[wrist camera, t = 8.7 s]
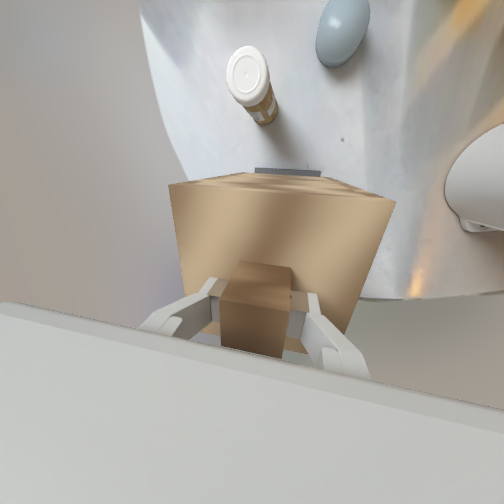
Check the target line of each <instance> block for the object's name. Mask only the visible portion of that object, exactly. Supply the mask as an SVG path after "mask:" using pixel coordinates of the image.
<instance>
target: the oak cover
mask: <svg viewBox="0 0 504 504" xmlns="http://www.w3.org/2000/svg"><path fill="white" fill-rule="evenodd" d="M168 186H169V193H170V199H171V206H172V212H173V219H174V225H175V232H176V238H177V245H178V251H179V258H180V263H181V271H182V277H183V283H184V290H185V296H186V297H187V296H190V295H192V294H194V293H198V292H199V291H200V289H201V288H202V287H203V285H204V284H205V283H206V281H207V280H208V279H209V277H215V278H221V279H227V280H229V281H228V283H227V285H226V287H225V289H224V291H223V292H222V294H221V296H220V298H219V312H220V323H218V322H212V321H211V323H210V324H209V325H207V326H206V327H205V328H203V329H202V330H201V331H200V332H204V333H209V334H214V335H219V336H221V346H225V347H229V348H234V349H239V350H243V351H247V352H252V353H257V354H262V355H266V356H270V357H275V358H279V359H281V358H282V352H283V349H285V350H290V351H295V352H300V353H304V354H308V352H307V351H306V349H305V347H304V346H303V344H302V342H301V341H300V339H298V338H293V337H289V336H286V331H287V326H288V321H289V315H290V290H294V291H301V292H310V293H316V294H317V296H318V301H319V306H320V311H321V315H324V316H325V317H326V318H327V319H328V320H329V321H330V322H331V323H332V324H333V325H334V326H335V327H336V328H337V329H338V330H339V331H340V332H341V333H342V334H343V335H344V334H345V331H346V328H347V326H348V323H349V321H350V318H351V316H352V313H353V311H354V308H355V305H356V303H357V301H358V298H359V296H360V293H361V291H362V288H363V285H364V283H365V280H366V278H367V275H368V273H369V270H370V268H371V265H372V263H373V260H374V258H375V255H376V252H377V250H378V247H379V245H380V242H381V240H382V237H383V235H384V232H385V230H386V227H387V225H388V222H389V219H390V217H391V214H392V212H393V209H394V207H395V204H396V202H395V201H392V200H390V199H387V198H384V197H381V196H379V195H376V194H373V193H370V192H368V191H365V190H362V189H359V188H357V187H354V186H351V185H348V184H346V183H343V182H340V181H338V180H335V179H332V178H327V177H310V176H293V175H276V174H259V173H236V174H230V175H224V176H218V177H212V178H206V179H200V180H194V181H189V182H183V183H177V184H171V185H168Z"/></svg>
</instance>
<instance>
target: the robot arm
mask: <svg viewBox="0 0 504 504" xmlns="http://www.w3.org/2000/svg"><path fill="white" fill-rule="evenodd" d="M445 197H446V200H447V203H448V204H449V206H450V207H451V209H452V210H453V211H455V212H456V213H457V214H458V216H459V217H460V222H461V226H462V228H463V229H464V230H465V231H469V232H485V231H501V230H502V231H504V123H503V124H501V125H499V126H497V127H495V128H493V129H491V130H490V131H488V132H486V133H485V134H483V135H482V136H480V137H479V138H478V139H476V140H475V141H474V142H473V143H472V144H471V145H469V146H468V147H467V148H466V149H465V150H464V151H463V152H462V154H461V155H460V156H459V157H458V159H457V160H456V161H455V163H454V164H453V166H452V168H451V170H450V172H449V174H448V177H447V180H446V184H445ZM480 225H481V226H480ZM228 281H229V280H227V279H221V278H215V277H209V279H208V280H207V281H206V283H205V284H204V285H203V287H202V288H201V289H200V291H199V292H198V293H194V294H192V295H190V296H187V297H185V298H183V299H181V300H179V301H176V302H174V303H172V304H170V305H168V306H165V307H163V308H161V309H159V310H157V311H154V312H153V313H152V314H151V315H150V317H149V318H148V319H147V320H146V321H145V322H144V323H143V324H142V325H141V326H140V327H139V328H138V329H136V328H132V327H127V326H123V325H118V324H114V323H109V322H104V321H100V320H96V319H91V318H86V317H82V316H77V315H73V314H68V313H63V312H59V311H55V310H50V309H46V308H41V307H36V306H32V305H28V304H24V303H19V302H2V303H0V504H504V410H503V409H498V408H494V407H489V406H485V405H480V404H476V403H471V402H467V401H462V400H458V399H452V398H449V397H444V396H440V395H435V394H431V393H426V392H421V391H417V390H412V389H408V388H403V387H399V386H394V385H389V384H385V383H381V382H376V381H372V379H371V377H370V374H369V372H368V369H367V366H366V363H365V360H364V358H363V355H362V353H361V352H360V351H359V350H358V349H357V348H356V347H355V346H354V345H353V344H352V343H351V342H350V341H349V340H348V339H347V338H346V337H345V336H344V335H343V334H342V333H341V332H340V331H339V330H338V329H337V328H336V327H335V326H334V325H333V324H332V323H331V322H330V321H329V320H328V319H327V318H326V317H325V316H324V315H321V311H320V306H319V301H318V296H317V294H316V293H310V292H301V291H294V290H290V315H289V321H288V326H287V331H286V336H289V337H293V338H298V339H300V341H301V342H302V344H303V346H304V347H305V349H306V351H307V352H308V354H309V356H310V357H311V359H312V361H313V362H314V364H315V368H313V367H308V366H303V365H299V364H295V363H290V362H285V361H281V360H276V359H272V358H268V357H263V356H258V355H254V354H250V353H245V352H241V351H236V350H232V349H227V348H222V347H218V346H213V345H209V344H204V343H199V342H195V341H190V340H189V339H190V338H192V337H193V336H194V335H196V334H197V333H198V332H200V331H201V330H202V329H203V328H205V327H206V326H207V325H209V324H210V323H211V321H212V322H218V323H220V312H219V298H220V296H221V294H222V292H223V291H224V289H225V287H226V285H227V283H228Z"/></svg>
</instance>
